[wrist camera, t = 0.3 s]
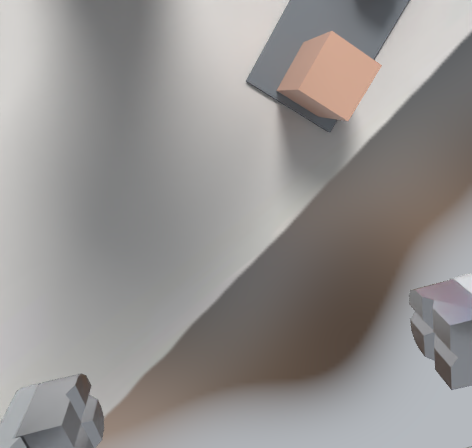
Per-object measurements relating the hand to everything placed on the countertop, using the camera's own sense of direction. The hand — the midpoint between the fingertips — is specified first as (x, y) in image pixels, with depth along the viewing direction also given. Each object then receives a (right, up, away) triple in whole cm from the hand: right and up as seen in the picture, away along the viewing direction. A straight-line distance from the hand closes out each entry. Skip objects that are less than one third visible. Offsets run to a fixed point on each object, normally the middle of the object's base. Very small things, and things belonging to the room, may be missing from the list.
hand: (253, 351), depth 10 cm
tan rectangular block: (+9, +21, +44) cm, 49 cm away
